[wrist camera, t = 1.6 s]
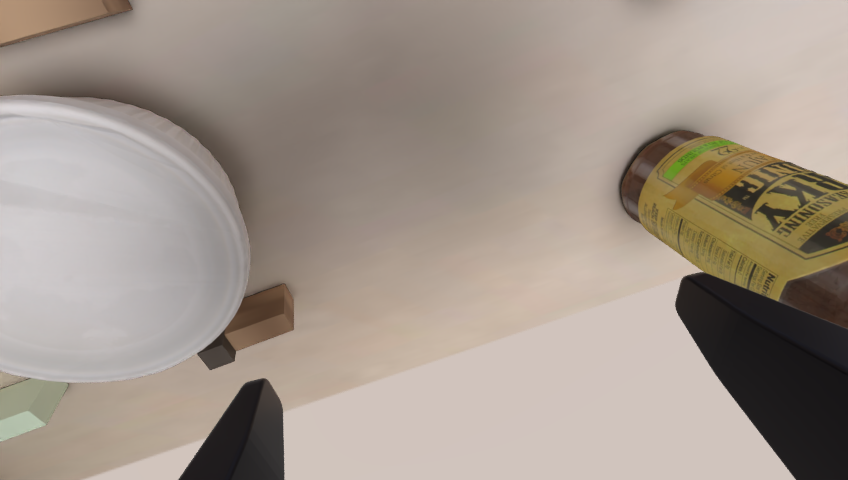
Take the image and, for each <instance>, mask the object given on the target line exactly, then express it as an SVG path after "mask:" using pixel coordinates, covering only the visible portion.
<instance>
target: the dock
mask: <svg viewBox="0 0 848 480" xmlns="http://www.w3.org/2000/svg"><path fill="white" fill-rule="evenodd" d="M68 386H69V384H67V383H66V382H55V381H45V380H38V379H33V378H31V379H28V380H25V381H22V382H19V383H17V384H14V385H11V386H8V387H5V388H3V389H0V442H1V441H4V440H7V439H10V438H12V437H15V436H18V435H21V434H23V433H26V432H29V431H31V430H34V429H37V428H40V427H42V426H45V425H47V423H48V421H49V420H50V418H51V416H52V414H53V412H54V411H55V409H56V407H57V405H58V404H59V402H60V400H61V398H62V396H63V395H64V393H65V391H66V389H67V387H68Z"/></svg>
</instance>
